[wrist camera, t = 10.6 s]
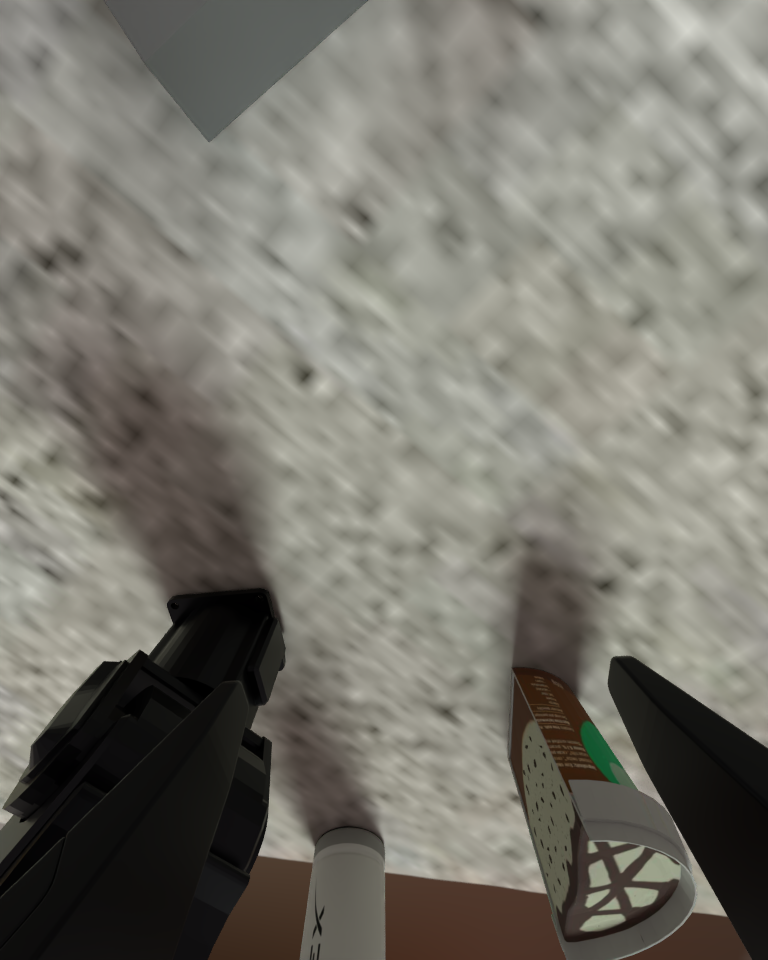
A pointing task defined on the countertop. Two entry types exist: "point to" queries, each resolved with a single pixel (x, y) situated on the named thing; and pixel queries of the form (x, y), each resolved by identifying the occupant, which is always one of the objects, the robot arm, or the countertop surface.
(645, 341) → the countertop surface
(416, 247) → the countertop surface
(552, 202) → the countertop surface
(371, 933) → the travel mug
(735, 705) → the countertop surface
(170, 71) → the cover
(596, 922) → the food container
